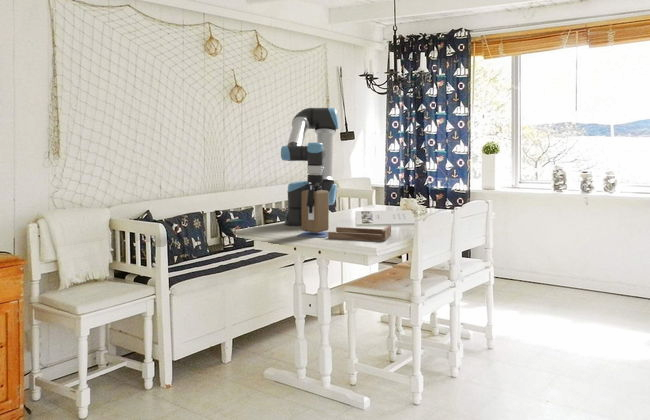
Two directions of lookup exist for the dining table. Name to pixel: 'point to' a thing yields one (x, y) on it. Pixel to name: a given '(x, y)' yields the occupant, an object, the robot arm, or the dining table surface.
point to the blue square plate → (314, 234)
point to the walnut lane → (361, 234)
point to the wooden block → (316, 212)
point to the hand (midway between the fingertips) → (315, 217)
